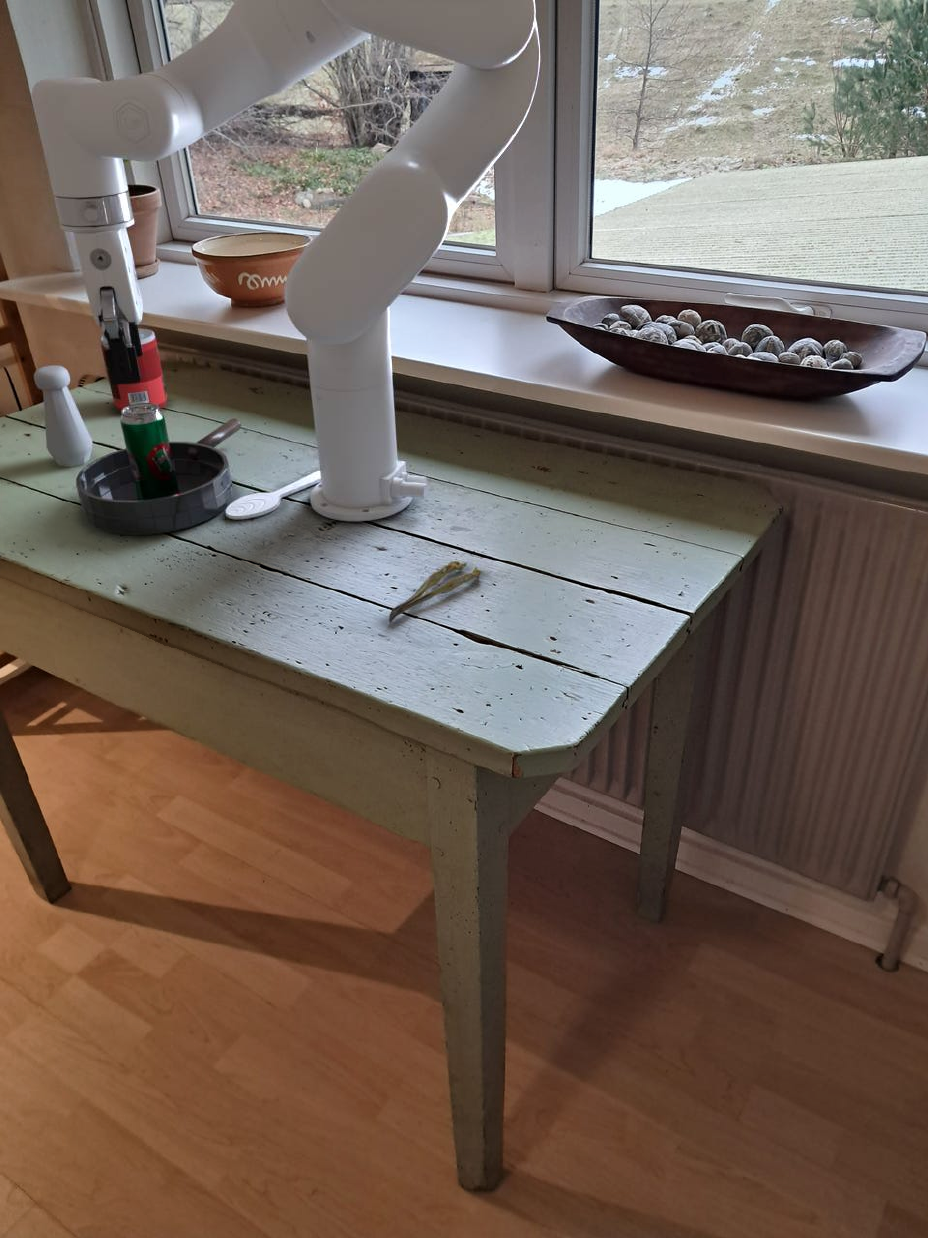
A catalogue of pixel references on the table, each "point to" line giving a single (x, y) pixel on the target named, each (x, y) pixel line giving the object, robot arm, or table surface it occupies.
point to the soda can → (149, 451)
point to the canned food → (142, 377)
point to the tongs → (434, 581)
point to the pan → (121, 512)
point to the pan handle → (216, 436)
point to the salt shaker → (62, 418)
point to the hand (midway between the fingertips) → (128, 369)
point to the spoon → (267, 499)
